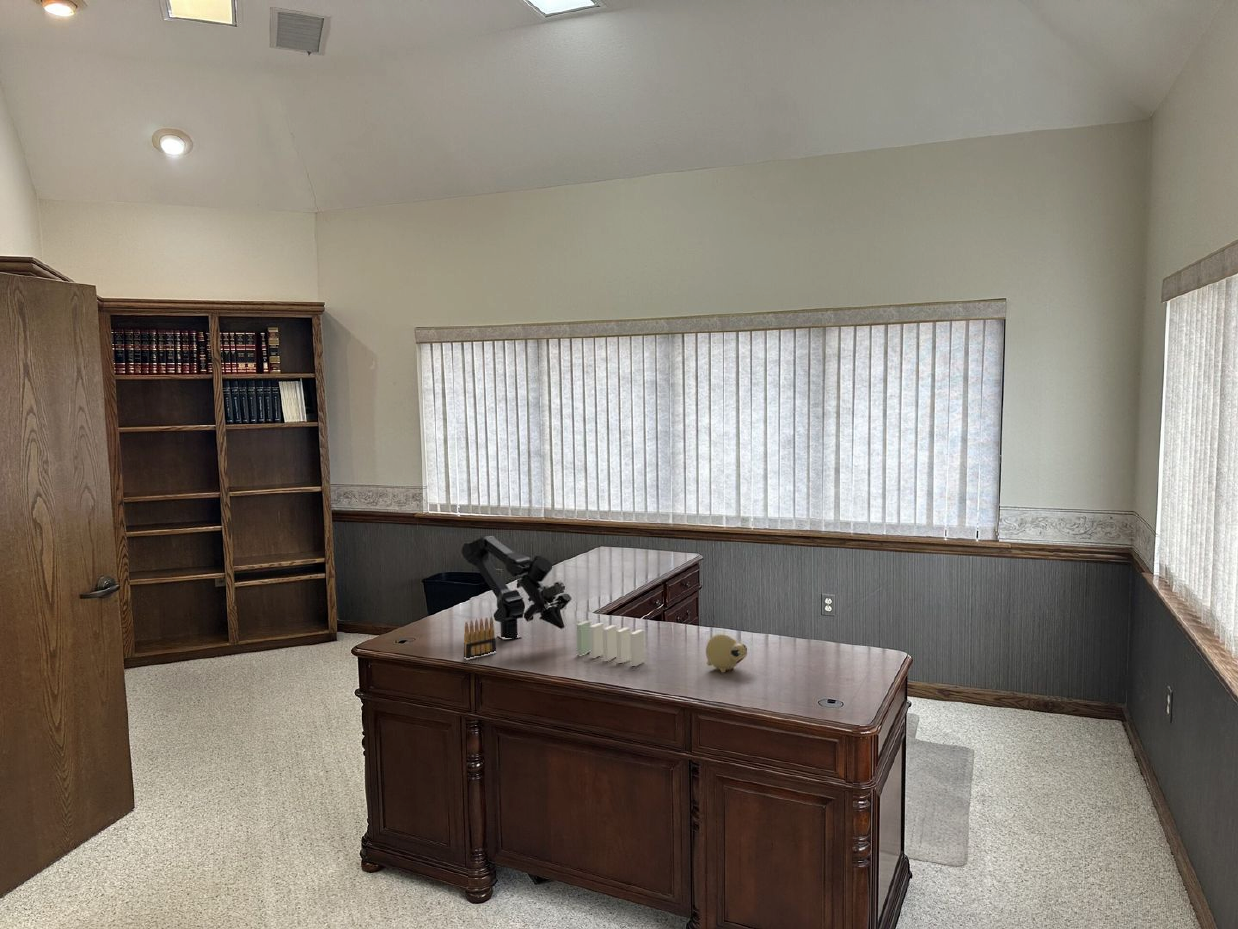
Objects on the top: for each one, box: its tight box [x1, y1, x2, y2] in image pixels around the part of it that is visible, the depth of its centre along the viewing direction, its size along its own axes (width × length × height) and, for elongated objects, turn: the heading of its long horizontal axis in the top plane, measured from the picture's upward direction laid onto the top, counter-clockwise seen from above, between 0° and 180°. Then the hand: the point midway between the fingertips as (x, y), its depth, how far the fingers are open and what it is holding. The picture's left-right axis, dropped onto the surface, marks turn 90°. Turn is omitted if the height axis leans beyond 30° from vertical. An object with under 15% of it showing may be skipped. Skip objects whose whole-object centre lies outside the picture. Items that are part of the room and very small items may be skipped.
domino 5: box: [630, 629, 645, 667], centre depth 260 cm, size 2×5×10 cm, turn 146°
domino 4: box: [616, 626, 631, 663], centre depth 262 cm, size 2×5×10 cm, turn 146°
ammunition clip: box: [463, 615, 497, 658], centre depth 271 cm, size 11×2×12 cm, turn 128°
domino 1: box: [576, 620, 591, 655], centre depth 271 cm, size 2×5×10 cm, turn 146°
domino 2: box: [589, 622, 604, 658], centre depth 268 cm, size 2×5×10 cm, turn 146°
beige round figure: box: [705, 633, 748, 674], centre depth 252 cm, size 10×12×11 cm
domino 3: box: [602, 624, 617, 661], centre depth 265 cm, size 2×5×10 cm, turn 146°
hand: (563, 628), depth 275 cm, fingers closed
